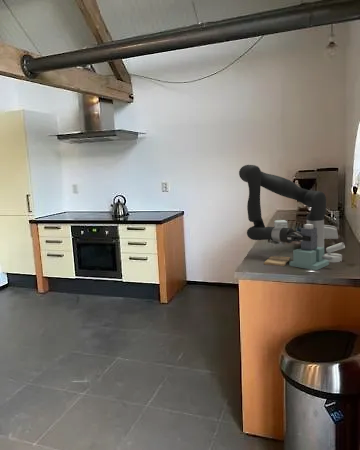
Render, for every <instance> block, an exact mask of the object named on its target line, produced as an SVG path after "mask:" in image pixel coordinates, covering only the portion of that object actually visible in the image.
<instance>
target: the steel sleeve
mask: <svg viewBox="0 0 360 450" xmlns="http://www.w3.org/2000/svg"><path fill="white" fill-rule="evenodd" d="M300 232H301V235H302V236H309V237H311V241H300V249H304V250H314V249H317V228H313V229H304V227H302V228H300Z"/></svg>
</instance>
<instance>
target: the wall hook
mask: <svg viewBox="0 0 360 450" xmlns="http://www.w3.org/2000/svg"><path fill="white" fill-rule="evenodd" d="M345 248H346V246H345V243H344V242H339V243H336V244H333V245H331V246H327V247H326V248H325V252H326V253H324V256H331V257H332V259H331V260H327V259H324V260H327V261H329V263H341V262H342V261H343V254H341V253H334V252H336V251H340V250H343V249H345ZM340 261H341V262H340Z"/></svg>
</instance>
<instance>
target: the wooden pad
mask: <svg viewBox="0 0 360 450" xmlns="http://www.w3.org/2000/svg"><path fill="white" fill-rule="evenodd" d="M290 261H291V257H290V256H277V255H276V256H274V255H271V256H269V257H268V258H267V259H266V260H265V261H263V265H265V266H281V267H282V266H283V267H285V266H286V265H287V263H288V262H290Z"/></svg>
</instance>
